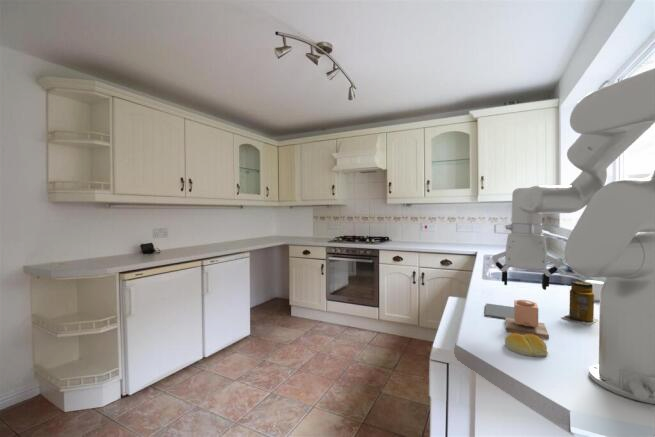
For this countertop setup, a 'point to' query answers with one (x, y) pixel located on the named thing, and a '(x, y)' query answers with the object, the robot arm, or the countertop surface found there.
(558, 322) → the countertop surface
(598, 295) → the shot glass
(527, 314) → the peach rounded block
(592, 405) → the countertop surface
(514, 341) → the bread roll
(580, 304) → the condiment
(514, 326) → the post base
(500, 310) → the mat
